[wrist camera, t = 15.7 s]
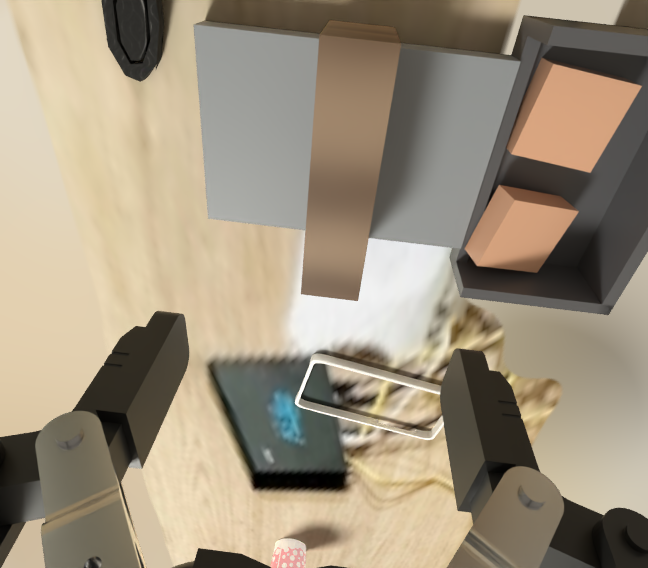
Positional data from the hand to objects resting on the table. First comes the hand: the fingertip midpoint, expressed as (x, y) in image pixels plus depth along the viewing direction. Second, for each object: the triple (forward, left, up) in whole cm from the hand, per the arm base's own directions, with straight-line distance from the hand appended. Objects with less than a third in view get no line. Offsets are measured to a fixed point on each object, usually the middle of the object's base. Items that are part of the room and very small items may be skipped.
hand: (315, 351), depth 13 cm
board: (0, 0, -20) cm, 20 cm away
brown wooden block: (0, 0, -18) cm, 18 cm away
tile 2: (+4, +12, -19) cm, 23 cm away
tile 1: (-3, +13, -19) cm, 23 cm away
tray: (0, +14, -20) cm, 24 cm away
